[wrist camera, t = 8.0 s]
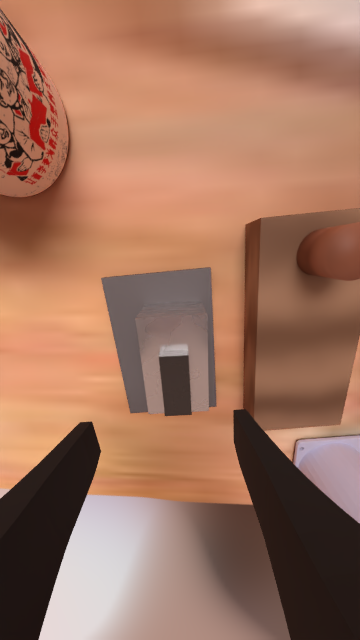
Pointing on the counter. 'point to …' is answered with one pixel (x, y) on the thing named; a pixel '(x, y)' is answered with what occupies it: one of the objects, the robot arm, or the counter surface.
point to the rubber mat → (128, 301)
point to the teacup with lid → (28, 119)
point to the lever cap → (174, 357)
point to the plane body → (301, 317)
